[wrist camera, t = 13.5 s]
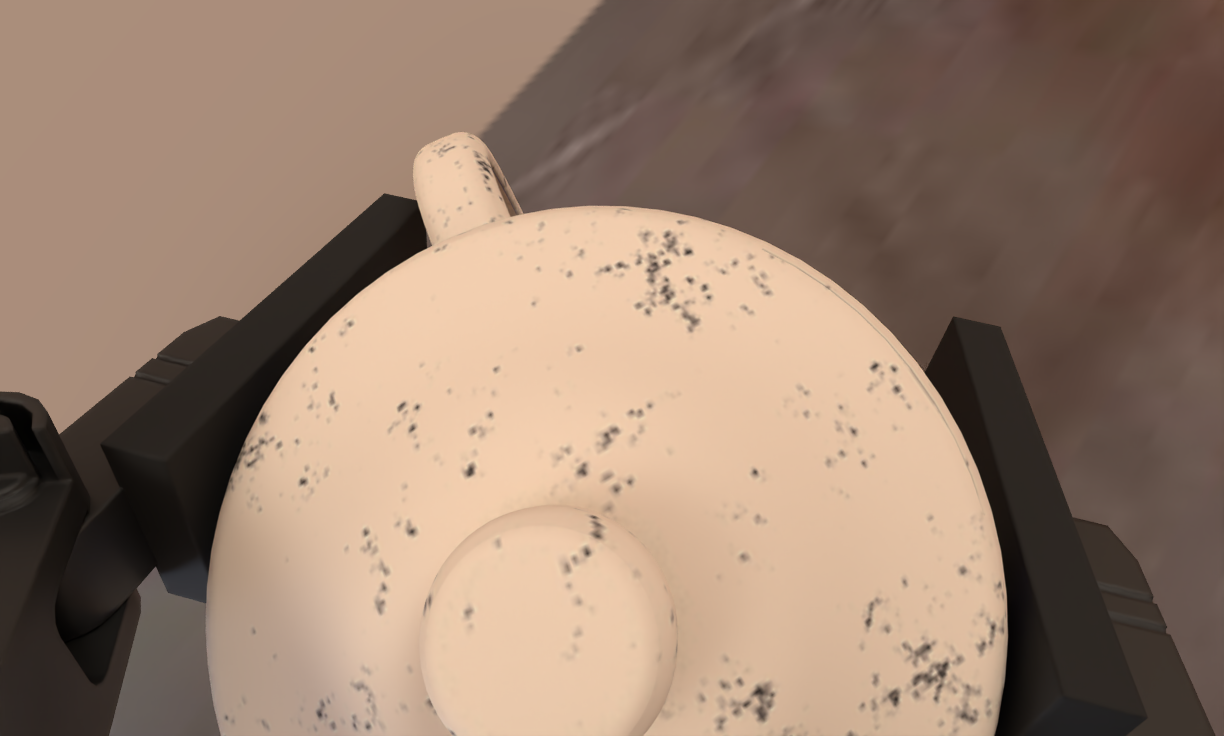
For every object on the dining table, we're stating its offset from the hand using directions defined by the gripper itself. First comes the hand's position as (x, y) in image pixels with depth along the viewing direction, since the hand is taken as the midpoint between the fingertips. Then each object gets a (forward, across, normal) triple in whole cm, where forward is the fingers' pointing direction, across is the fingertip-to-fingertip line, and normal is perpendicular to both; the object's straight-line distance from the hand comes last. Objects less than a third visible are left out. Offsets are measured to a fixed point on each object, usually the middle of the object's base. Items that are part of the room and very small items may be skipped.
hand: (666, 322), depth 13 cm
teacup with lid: (+1, -1, -5) cm, 5 cm away
